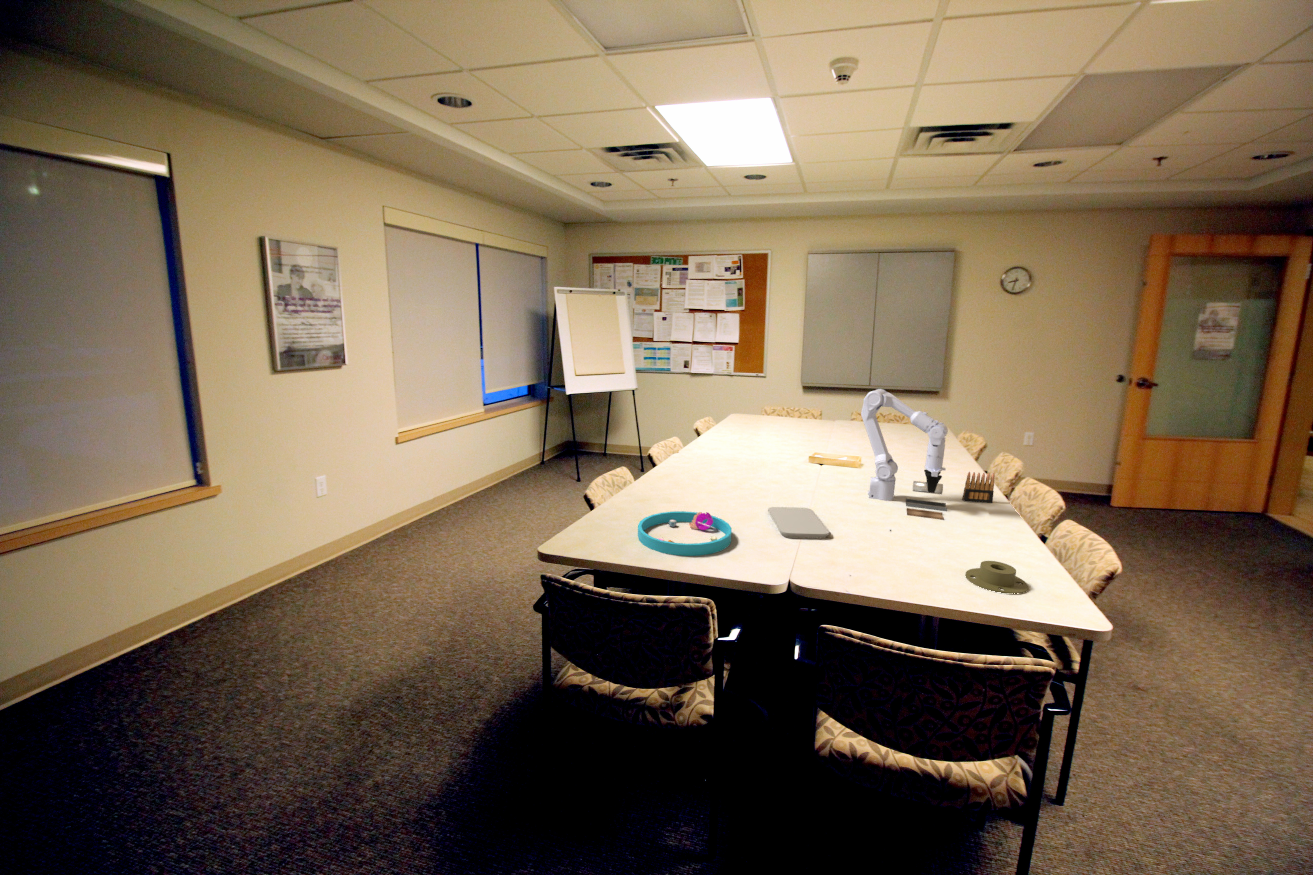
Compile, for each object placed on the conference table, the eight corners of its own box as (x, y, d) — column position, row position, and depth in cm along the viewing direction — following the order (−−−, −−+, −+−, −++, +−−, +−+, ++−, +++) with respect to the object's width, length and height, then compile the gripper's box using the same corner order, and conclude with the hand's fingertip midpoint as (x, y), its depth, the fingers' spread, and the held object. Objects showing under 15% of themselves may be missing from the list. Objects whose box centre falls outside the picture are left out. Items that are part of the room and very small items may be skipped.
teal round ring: (747, 535, 189) (748, 518, 188) (701, 565, 165) (702, 546, 164) (670, 515, 205) (671, 500, 204) (618, 541, 181) (619, 523, 180)
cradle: (905, 508, 218) (906, 503, 218) (905, 503, 225) (905, 497, 224) (946, 513, 213) (947, 508, 213) (944, 508, 220) (945, 502, 219)
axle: (912, 492, 218) (914, 482, 217) (912, 489, 221) (913, 479, 220) (942, 495, 214) (943, 485, 213) (941, 492, 218) (942, 482, 217)
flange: (962, 552, 167) (974, 574, 153) (1020, 560, 162) (1038, 582, 148) (960, 567, 168) (971, 590, 154) (1018, 575, 163) (1035, 599, 149)
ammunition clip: (990, 501, 229) (995, 472, 227) (992, 503, 228) (997, 474, 225) (962, 499, 231) (966, 470, 229) (963, 501, 229) (967, 472, 227)
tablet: (810, 513, 211) (810, 507, 211) (831, 540, 186) (831, 534, 185) (766, 512, 211) (766, 506, 211) (781, 539, 186) (781, 532, 185)
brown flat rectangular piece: (906, 517, 208) (907, 513, 208) (906, 511, 215) (906, 507, 214) (943, 522, 204) (944, 518, 204) (941, 516, 210) (942, 512, 210)
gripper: (948, 461, 206) (944, 497, 209) (945, 452, 220) (940, 486, 222) (927, 459, 209) (923, 494, 212) (924, 450, 222) (920, 484, 225)
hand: (930, 490), depth 217 cm, fingers closed on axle, 4 cm apart
